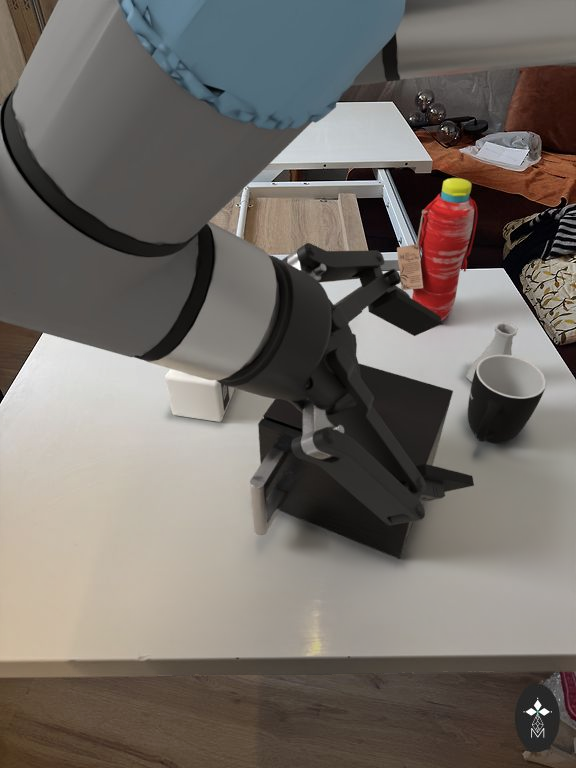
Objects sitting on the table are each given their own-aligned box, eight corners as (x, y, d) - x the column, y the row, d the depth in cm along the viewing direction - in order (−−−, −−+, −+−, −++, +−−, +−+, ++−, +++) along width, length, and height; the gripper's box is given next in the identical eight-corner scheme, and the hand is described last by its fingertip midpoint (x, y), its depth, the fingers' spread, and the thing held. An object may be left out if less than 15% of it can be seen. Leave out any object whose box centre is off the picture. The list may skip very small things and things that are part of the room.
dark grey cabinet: (402, 551, 63) (423, 470, 53) (267, 497, 69) (263, 415, 59) (430, 472, 71) (453, 390, 61) (308, 430, 77) (310, 349, 67)
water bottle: (392, 328, 96) (414, 191, 79) (386, 303, 102) (405, 171, 85) (459, 328, 96) (495, 191, 79) (449, 303, 102) (481, 171, 85)
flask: (457, 378, 86) (471, 327, 79) (482, 358, 89) (497, 308, 83) (497, 400, 82) (516, 349, 75) (522, 379, 85) (541, 328, 79)
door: (384, 603, 58) (403, 527, 48) (240, 540, 64) (230, 461, 54) (402, 552, 62) (423, 473, 53) (266, 497, 68) (262, 417, 58)
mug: (473, 397, 82) (490, 346, 75) (532, 422, 78) (555, 370, 71) (441, 445, 75) (456, 393, 68) (504, 475, 71) (526, 422, 64)
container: (235, 388, 84) (229, 321, 75) (221, 423, 78) (212, 354, 70) (189, 382, 85) (177, 314, 76) (171, 415, 80) (157, 347, 71)
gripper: (196, 178, 36) (382, 289, 50) (193, 566, 26) (426, 568, 40) (272, 106, 31) (454, 250, 45) (302, 548, 21) (523, 557, 35)
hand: (441, 400), depth 43 cm, fingers open, 13 cm apart
